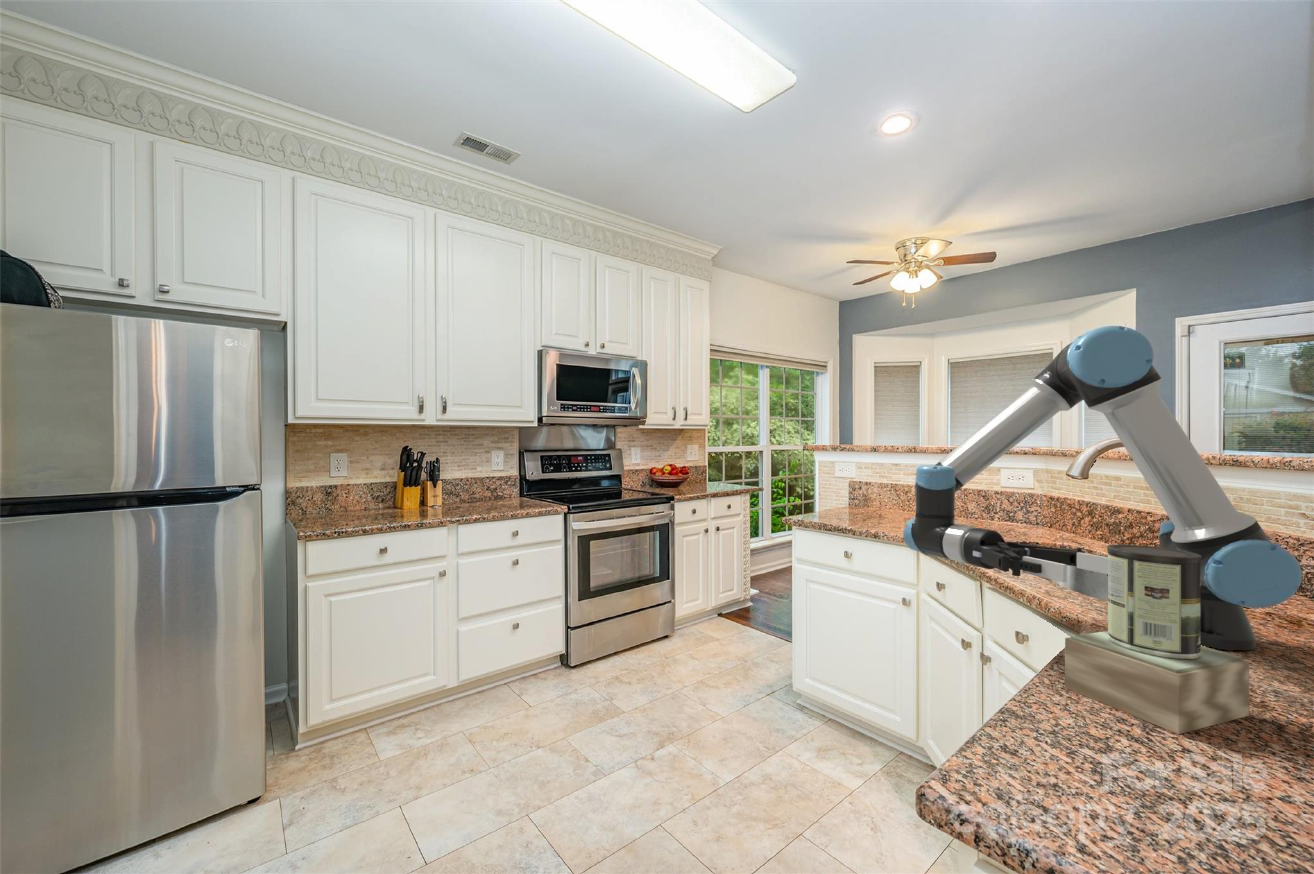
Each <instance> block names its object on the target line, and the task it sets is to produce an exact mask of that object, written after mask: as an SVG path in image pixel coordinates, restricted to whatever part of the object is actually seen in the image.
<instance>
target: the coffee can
mask: <svg viewBox="0 0 1314 874" xmlns="http://www.w3.org/2000/svg"><path fill="white" fill-rule="evenodd" d="M1106 549H1107V557H1108V574H1107V631H1108V635H1107V638H1108V639H1109V640H1110V641H1111V642H1113V643H1115V644H1117V645H1120V646H1122V647H1125V648H1128V649H1131V650H1134V651H1137V652H1141V653H1146V654H1150V655H1155V656H1161V657H1167V658H1176V659H1196V658H1200V657H1201V656H1202V655H1201V627H1200V585H1201V582H1200V565H1201V564H1200V562H1201V561H1202V556H1201V555H1199V554H1196V553H1192V552H1188V551H1182V550H1177V549H1170V548H1162V547H1159V546H1152V545H1139V544H1125V543H1124V544H1121V543H1120V544H1119V543H1118V544H1110V545H1109V544H1108V545H1107V546H1106Z"/></svg>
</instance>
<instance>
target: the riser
mask: <svg viewBox="0 0 1314 874" xmlns="http://www.w3.org/2000/svg"><path fill="white" fill-rule="evenodd" d="M1107 635H1108V630H1104V631H1099V632H1091V633H1084V634H1078V635H1071V636H1070V637H1065V638H1064V640H1065V641H1064V643H1065V644H1064V688H1065V689H1067V690H1069V691H1073V692H1075V693H1077V694H1080V695H1083V696H1085V697H1087V698H1090V699H1092V700H1093V701H1097V702H1099V703H1102V704H1103V705H1106V706H1109V707H1110V708H1114V709H1116V710H1118V711H1121V712H1123V713H1126V714H1128V715H1131V716H1133V717H1136V718H1138V719H1140V720H1143V721H1145V722H1148V723H1150V724H1153V725H1155V726H1157V727H1159V728H1162V729H1165V730H1167V731H1170V732H1172V733H1174V734H1177V735H1180V734H1185V733H1188V732H1192V731H1197V730H1200V729H1205V728H1208V727H1210V726H1211V727H1212V726H1216V725H1218V724H1222V723H1227V722H1231V721H1234V720H1238V719H1241V718H1242V719H1243V718H1245V717H1250V660H1247V659H1243V656H1239V655H1236V654H1232V653H1228V652H1226V651H1221V650H1219V649H1215V648H1209V647H1204V646H1201V655H1202V656H1201V657H1200V658H1196V659H1176V658H1167V657H1161V656H1155V655H1150V654H1146V653H1141V652H1137V651H1134V650H1131V649H1128V648H1125V647H1122V646H1120V645H1117V644H1115V643H1113V642H1111V641H1110V640H1109V639H1108V638H1107Z"/></svg>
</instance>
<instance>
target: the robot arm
mask: <svg viewBox="0 0 1314 874" xmlns="http://www.w3.org/2000/svg"><path fill="white" fill-rule="evenodd" d="M1153 361H1154V350H1153V346H1152V344H1151V342H1150V341H1149V339H1148V338H1147V337H1146V336H1145V335H1144V334H1142V333H1141V332H1139V331H1138V330H1136V329H1133V328H1131V327H1127V326H1121V325H1106V326H1101V327H1097V328H1094V329H1092V330H1089V331H1086V332H1084V333H1083V334H1081V335H1079V336H1077V338H1076V339H1074V340H1073V341H1072V342H1070V343H1069V344H1067V345H1066V346H1065V347H1063V348H1062V350H1061V351H1059V353H1058V354H1057V355H1056V356H1055V357H1054V358H1053V359H1052V361H1050V362H1049V364H1047V366H1046V367H1045V368H1044V369H1043V370H1041V372H1040V373H1038V374H1037V375H1036V376H1035V377H1034V378H1032V379H1031V381H1030V387H1029V388H1028V389H1027V390H1025V391H1024V392H1023V393H1021V394H1020V395H1019V396H1018V397H1017V398H1015V399H1014V400H1013V401H1011V402H1010V403H1009V404H1007V406H1005V407H1004V408H1003V409H1002V410H1001V411H999V412H998V413H997V414H996V415H995V416H993V417H992V418H991V419H989V420H988V421H987V422H986V423H985V424H983V425H982V426H981V427H980V428H979V429H977V430H976V431H975V432H974V433H972V434H971V435H970V436H969V437H967V438H966V439H965V440H963V442H962V443H960V444H959V445H958V446H956V447H955V448H954V449H953V450H951V451H950V452H949V453H948V454H946V455H945V456H944V457H943V458H942V459H940V460H939V461H938V462H937V463H936V464H935V465H930V464H929V465H927V464H925V465H924V464H923V465H922V464H921V465H919V466H917V468H916V474H915V475H916V476H915V483H914V491H915V516H914V518H911V519H909V520H908V521H906V523H905V526H904V527H905V528H904V529H903V532H902V536H903V540H904V543H905V545H906V546H907V547H908V548H909V549H910V550H912V551H915V552H918V553H920V554H921V553H922V554H923V555H927V556H930V557H936V558H941V559H945V560H949V561H954V562H959V563H958V565H960V566H965V564H967V565H971V566H973V567H977V568H980V569H981V568H982V569H985V570H993V569H997V570H999V571H1002V572H1004V573H1007V572H1010V570H1011V575H1012V576H1013V577H1021V572H1022V573H1023V574H1027V575H1031V576H1035V577H1040V578H1044V579H1048V580H1052V581H1055V582H1056V581H1057V582H1062V583H1067V581H1068V580H1067V574H1068V573H1067V567H1068V566H1071V567H1076V569H1081V570H1084V571H1091V572H1095V573H1101V574H1105V575H1108V556H1101V555H1095V554H1091V553H1090V554H1089V553H1087V552H1086V553H1085V551H1084V550H1083V548H1081V547H1076V549H1071V548H1070V549H1068V548H1059V547H1052V546H1043V545H1035V544H1029V543H1026V542H1022V543H1018V542H1016V541H1007V542H1006V541H1005V539H1004V537H1003V536H1002V534H1000V533H999V532H998V531H996V530H993V529H988V528H987V529H986V528H981V527H975V526H970V525H964V524H960V523H955V506H956V505H955V504H956V503H955V502H956V501H955V500H956V499H955V497H956V493H957V492H958V491H960V489H962V487H964V486H965V485H967V484H968V483H969V482H970V481H972V480H973V479H974V478H976V477H977V476H978V475H979V474H981V473H982V472H983V471H984V470H986V469H987V468H988V467H990V466H991V465H992V464H994V463H995V462H996V461H997V460H999V459H1000V458H1001V457H1002V456H1004V455H1005V454H1007V453H1008V452H1009V451H1010V450H1012V449H1013V448H1015V447H1016V446H1017V445H1018V444H1020V443H1021V442H1022V441H1023V440H1024V439H1026V438H1027V437H1028V436H1029V435H1031V434H1032V433H1033V432H1035V431H1036V430H1037V429H1038V428H1040V427H1041V426H1042V425H1044V424H1045V423H1047V422H1048V421H1049V420H1050V419H1051V418H1053V417H1054V416H1056V414H1058V413H1059V412H1068V411H1070V410H1071V409H1073V408H1074V407H1075V406H1077V405H1078V404H1079V403H1081V402H1083V401H1084V402H1085V404H1086V406H1087V407H1088V409H1089V410H1092V411H1096V412H1099V413H1101V414H1103V415H1104V416H1105V418H1106V420H1107V421H1108V423H1109V425H1110V426H1111V428H1112V429H1113V431H1114V432H1115V434H1116V436H1117V437H1118V439H1119V440H1120V441H1121V444H1122V446H1123V447H1124V448H1125V450H1126V451H1127V453H1128V455H1129V456H1130V458H1131V459H1132V461H1133V462H1134V465H1136V467H1137V469H1138V471H1139V472H1140V474H1141V475H1142V476H1143V478H1144V480H1145V481H1146V483H1147V485H1148V486H1149V488H1150V489H1151V490H1152V492H1153V494H1154V495H1155V497H1156V499H1157V501H1159V503H1160V505H1161V507H1162V508H1163V509H1164V510H1163V511H1165V513H1166V515H1167V516H1168V518H1169V519H1170V520H1164V521H1162V522H1161V523H1160V526H1159V533H1158V535H1157V536H1158V537H1157V538H1158V547H1162V548H1170V549H1177V550H1182V551H1188V552H1192V553H1196V554H1199V555H1201V556H1202V561H1201V562H1200V564H1201V565H1200V582H1201V585H1200V627H1201V645H1202V646H1207V648H1209V647H1214V648H1213V649H1215V648H1217V649H1216V650H1223V649H1225V651H1233V650H1249V651H1253V649H1254V650H1256V647H1257V639H1256V638H1257V637H1256V634H1255V632H1254V630H1253V628H1252V625H1251V623H1250V621H1249V618H1248V615H1247V612H1246V611H1245V609H1244V607H1247V608H1254V609H1256V608H1257V609H1259V608H1268V607H1273V606H1277V605H1280V604H1281V603H1285V602H1286V601H1288V600H1289V599H1290V598H1292V597H1293V596H1294V595H1295V594H1296V591H1297V590H1298V588H1299V587H1300V586H1301V583H1302V576H1303V574H1302V569H1301V566H1300V563H1299V561H1298V560H1297V559H1296V557H1294V555H1292V554H1291V552H1289V551H1288V550H1287V549H1284V547H1282V546H1281V545H1280V544H1276V543H1275V542H1272V541H1271V539H1270V538H1269V537H1268V535H1267V534H1266V532H1265V531H1264V529H1263V528H1262V527H1261V525H1260V523H1259V521H1257V519H1256V518H1255V516H1253V515H1250V514H1246V513H1243V512H1240V511H1238V510H1237V509H1236V508H1235V506H1234V505H1233V503H1232V502H1231V500H1230V499H1229V498H1228V496H1227V494H1226V492H1225V491H1224V490H1223V488H1222V486H1221V485H1220V484H1219V482H1218V481H1217V480H1216V478H1215V476H1214V475H1213V473H1212V471H1211V470H1210V468H1209V467H1208V465H1207V464H1206V463H1205V461H1204V460H1203V458H1202V457H1201V455H1200V453H1199V452H1198V451H1197V449H1196V447H1195V446H1194V444H1193V443H1192V442H1191V440H1190V439H1189V437H1188V436H1187V434H1186V432H1185V431H1184V430H1183V428H1182V426H1181V425H1180V423H1179V421H1178V420H1177V419H1176V418H1175V416H1174V415H1173V413H1172V411H1171V410H1170V408H1169V407H1168V404H1166V402H1165V401H1164V399H1163V398H1162V396H1161V394H1160V393H1159V389H1160V386H1161V384H1162V381H1163V379H1162V377H1161V376H1160V374H1159V372H1158V371H1157V370H1156V368H1155V366H1154V364H1153Z"/></svg>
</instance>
